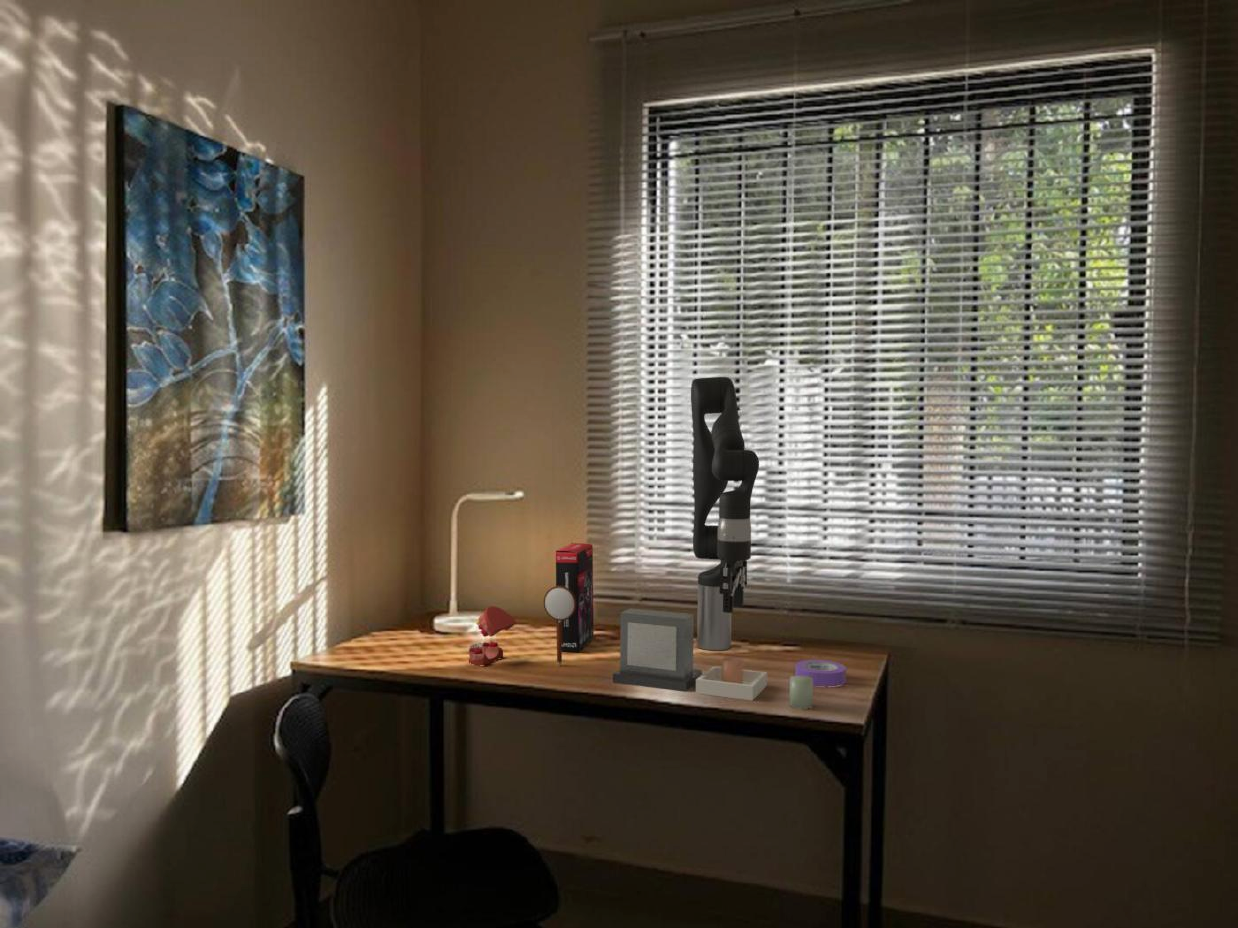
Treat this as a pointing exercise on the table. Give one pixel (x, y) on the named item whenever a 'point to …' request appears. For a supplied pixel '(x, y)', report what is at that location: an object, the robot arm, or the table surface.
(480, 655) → the anatomical model
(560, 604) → the magnifying glass
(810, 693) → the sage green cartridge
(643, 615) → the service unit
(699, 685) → the tray
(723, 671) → the cylinder
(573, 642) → the graphics card box
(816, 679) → the masking tape
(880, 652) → the table surface
